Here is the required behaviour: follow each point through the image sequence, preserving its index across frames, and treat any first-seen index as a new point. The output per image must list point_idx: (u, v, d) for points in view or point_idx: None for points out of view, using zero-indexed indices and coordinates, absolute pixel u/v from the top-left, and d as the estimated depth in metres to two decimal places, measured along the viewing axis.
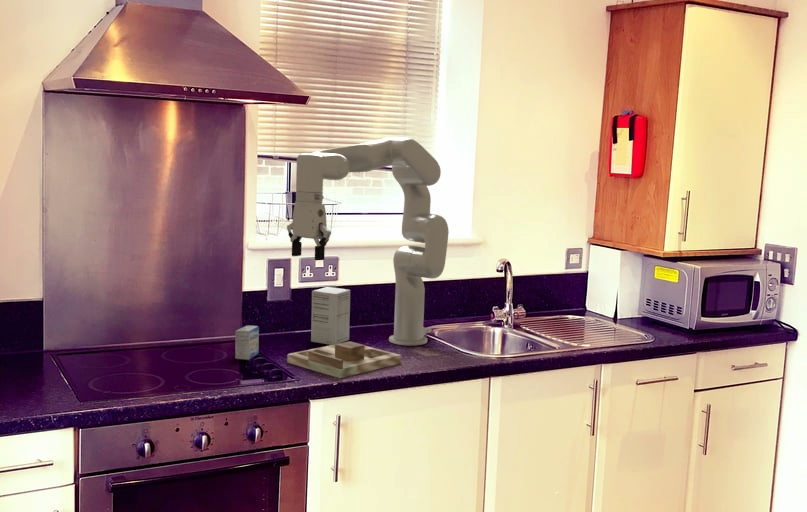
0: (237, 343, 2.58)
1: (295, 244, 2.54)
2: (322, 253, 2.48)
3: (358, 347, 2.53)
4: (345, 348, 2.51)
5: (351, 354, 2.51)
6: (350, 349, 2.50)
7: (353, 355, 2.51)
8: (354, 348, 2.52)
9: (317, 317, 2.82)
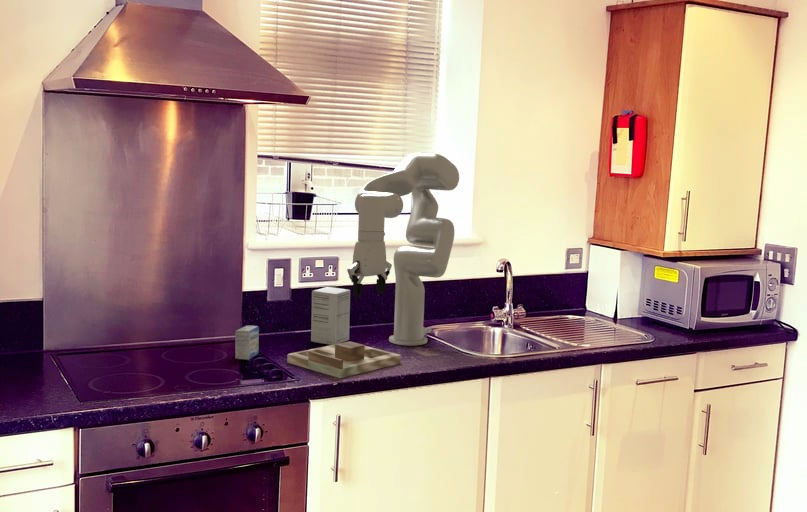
0: (237, 343, 2.58)
1: None
2: None
3: (358, 347, 2.53)
4: (345, 348, 2.51)
5: (351, 354, 2.51)
6: (350, 349, 2.50)
7: (353, 355, 2.51)
8: (354, 348, 2.52)
9: (317, 317, 2.82)
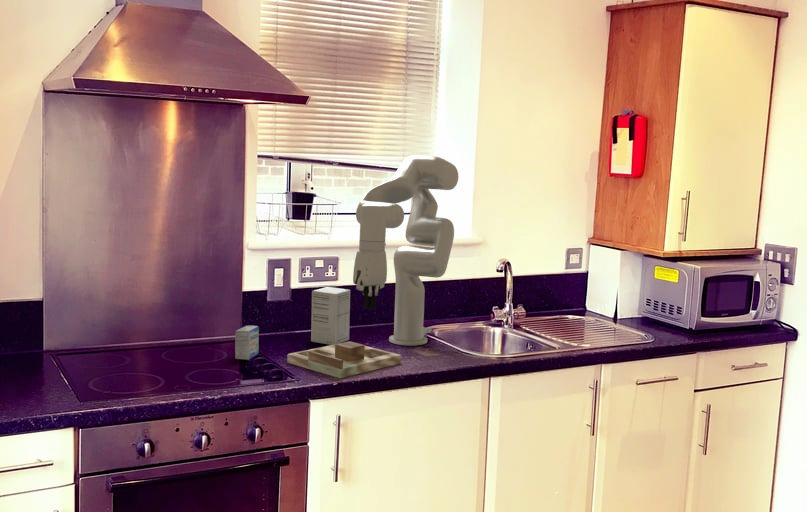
0: (237, 343, 2.58)
1: None
2: None
3: (358, 347, 2.53)
4: (345, 348, 2.51)
5: (351, 354, 2.51)
6: (350, 349, 2.50)
7: (353, 355, 2.51)
8: (354, 348, 2.52)
9: (317, 317, 2.82)
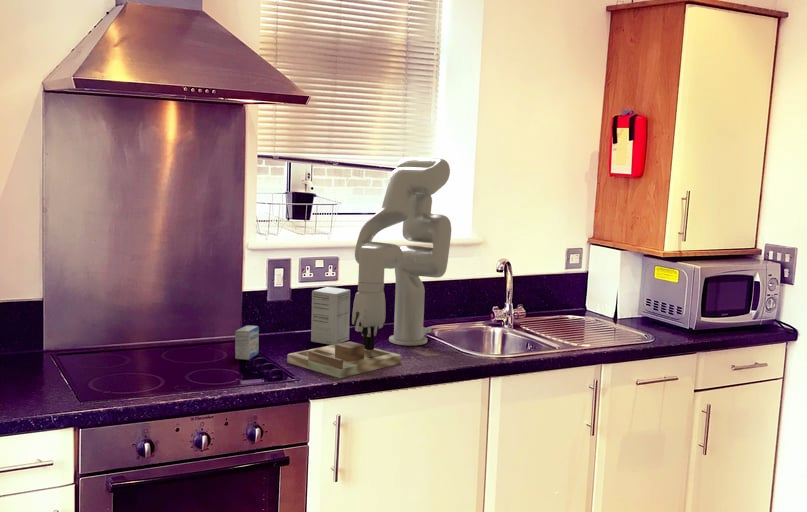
0: (237, 343, 2.58)
1: None
2: None
3: (358, 347, 2.53)
4: (345, 348, 2.51)
5: (351, 354, 2.51)
6: (350, 349, 2.50)
7: (353, 355, 2.51)
8: (354, 348, 2.52)
9: (317, 317, 2.82)
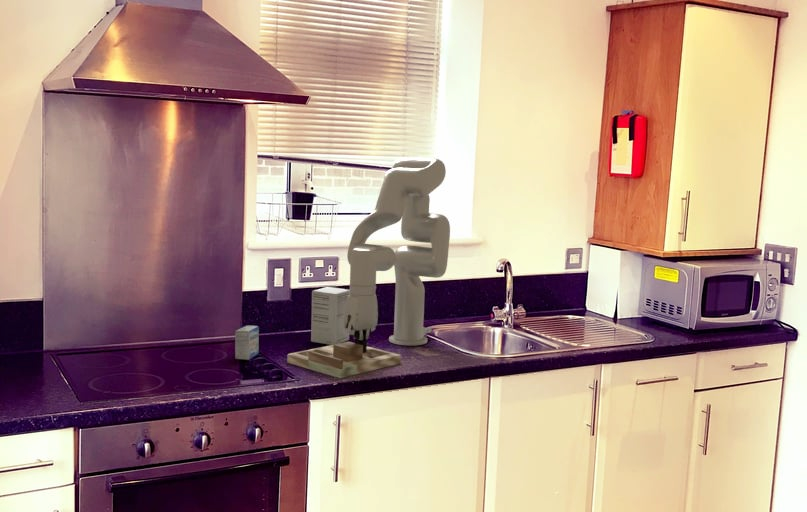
0: (237, 343, 2.58)
1: None
2: None
3: (356, 347, 2.52)
4: (343, 348, 2.51)
5: (350, 354, 2.51)
6: (348, 349, 2.50)
7: (351, 355, 2.51)
8: (352, 348, 2.51)
9: (317, 317, 2.82)
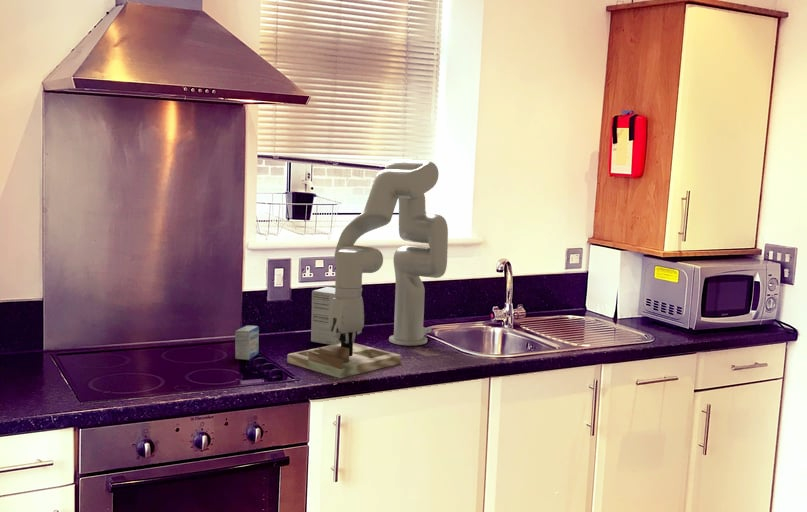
0: (237, 343, 2.58)
1: None
2: None
3: (343, 351, 2.48)
4: (329, 352, 2.46)
5: None
6: (335, 353, 2.46)
7: None
8: (339, 352, 2.47)
9: (317, 317, 2.82)
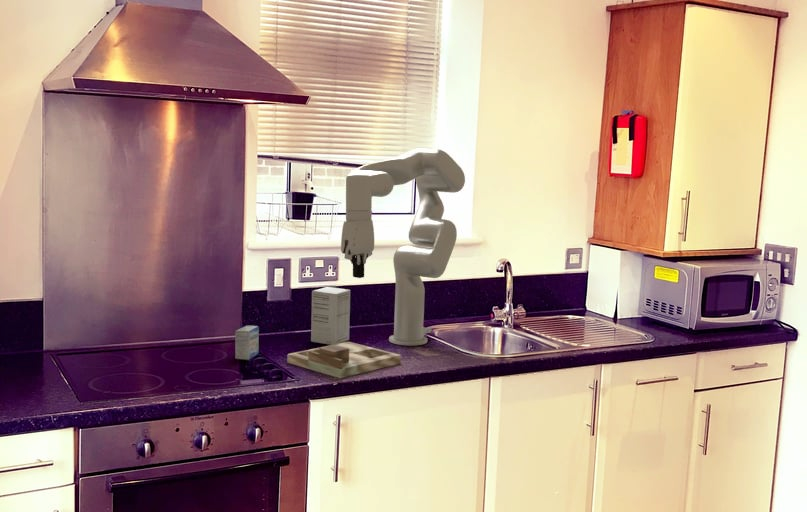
0: (237, 343, 2.58)
1: None
2: None
3: (343, 351, 2.48)
4: (329, 352, 2.46)
5: None
6: (335, 353, 2.46)
7: None
8: (339, 352, 2.47)
9: (317, 317, 2.82)
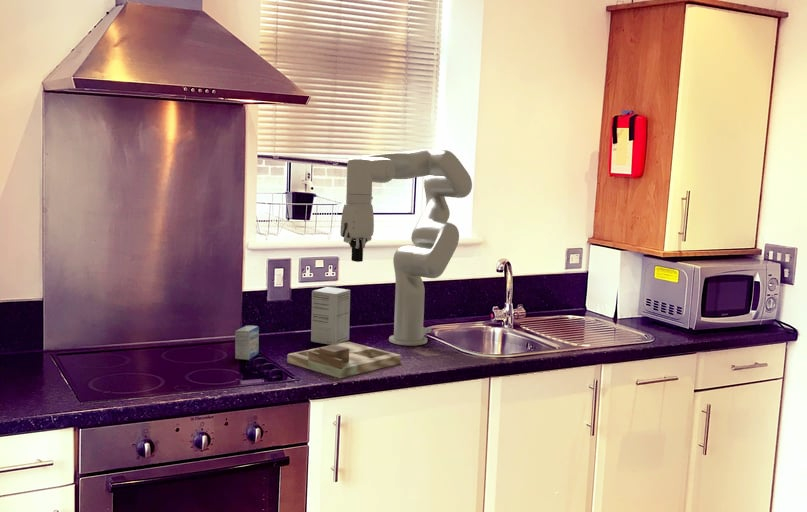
0: (237, 343, 2.58)
1: None
2: None
3: (343, 351, 2.48)
4: (329, 352, 2.46)
5: None
6: (335, 353, 2.46)
7: None
8: (339, 352, 2.47)
9: (317, 317, 2.82)
